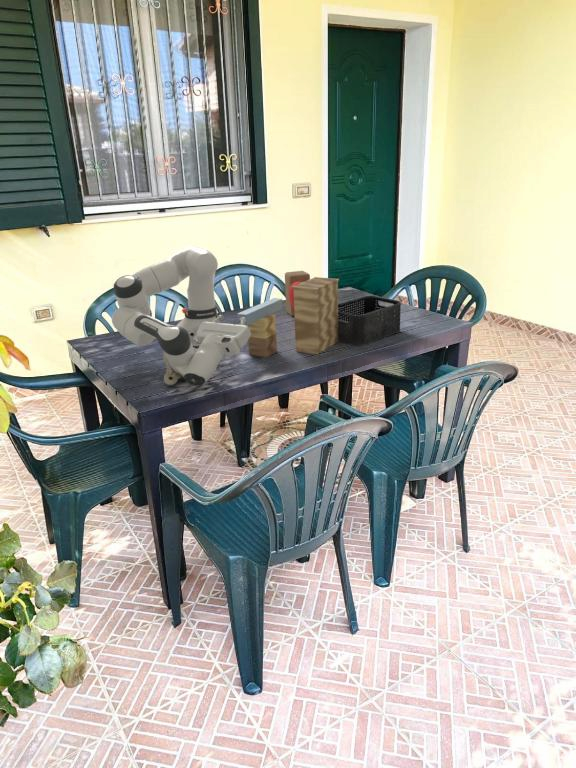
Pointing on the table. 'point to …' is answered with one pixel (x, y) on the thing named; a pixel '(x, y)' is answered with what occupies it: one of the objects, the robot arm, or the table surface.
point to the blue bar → (260, 310)
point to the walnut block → (262, 346)
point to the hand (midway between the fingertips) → (232, 317)
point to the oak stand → (316, 314)
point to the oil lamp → (170, 373)
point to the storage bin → (367, 320)
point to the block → (289, 280)
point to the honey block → (263, 327)
